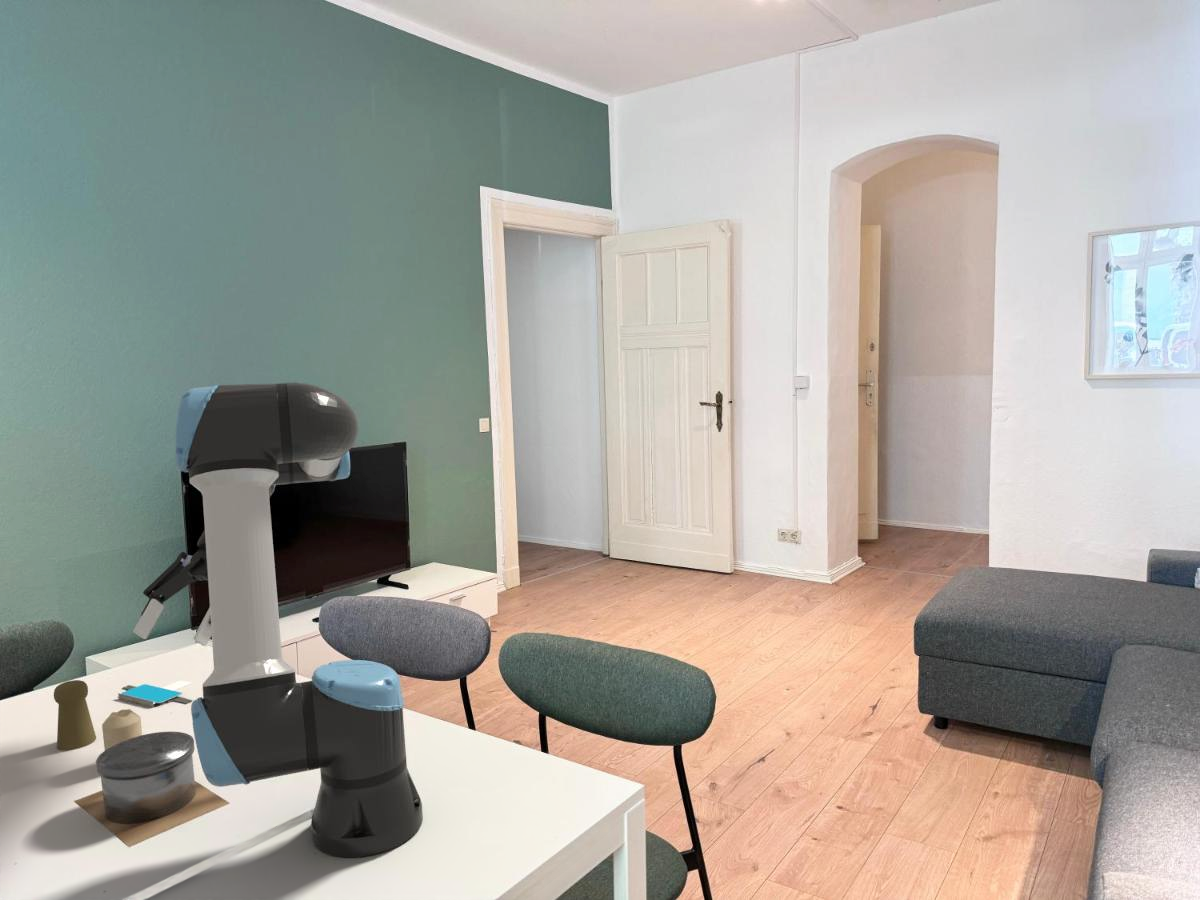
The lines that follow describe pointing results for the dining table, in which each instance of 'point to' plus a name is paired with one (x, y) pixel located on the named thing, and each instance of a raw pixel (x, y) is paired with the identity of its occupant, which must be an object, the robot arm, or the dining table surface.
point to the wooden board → (143, 831)
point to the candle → (121, 727)
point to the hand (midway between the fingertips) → (168, 639)
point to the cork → (73, 716)
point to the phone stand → (154, 694)
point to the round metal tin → (147, 777)
